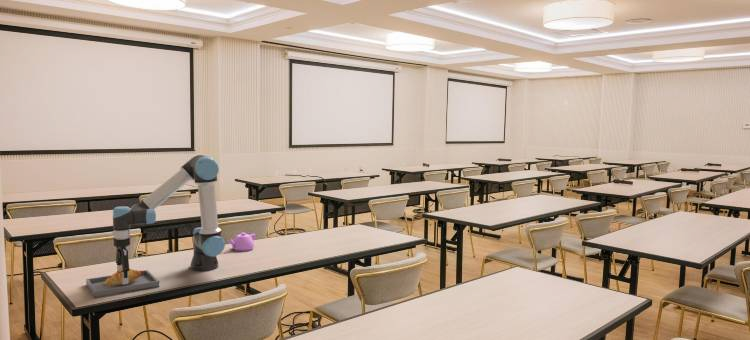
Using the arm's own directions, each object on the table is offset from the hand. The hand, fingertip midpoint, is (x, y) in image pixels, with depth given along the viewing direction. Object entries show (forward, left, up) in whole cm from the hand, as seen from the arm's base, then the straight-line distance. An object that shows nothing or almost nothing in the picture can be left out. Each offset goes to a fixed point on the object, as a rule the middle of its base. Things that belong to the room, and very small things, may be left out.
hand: (122, 280), depth 261 cm
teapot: (-79, -36, -3) cm, 87 cm away
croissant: (0, 0, -1) cm, 1 cm away
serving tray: (0, 0, -3) cm, 3 cm away
